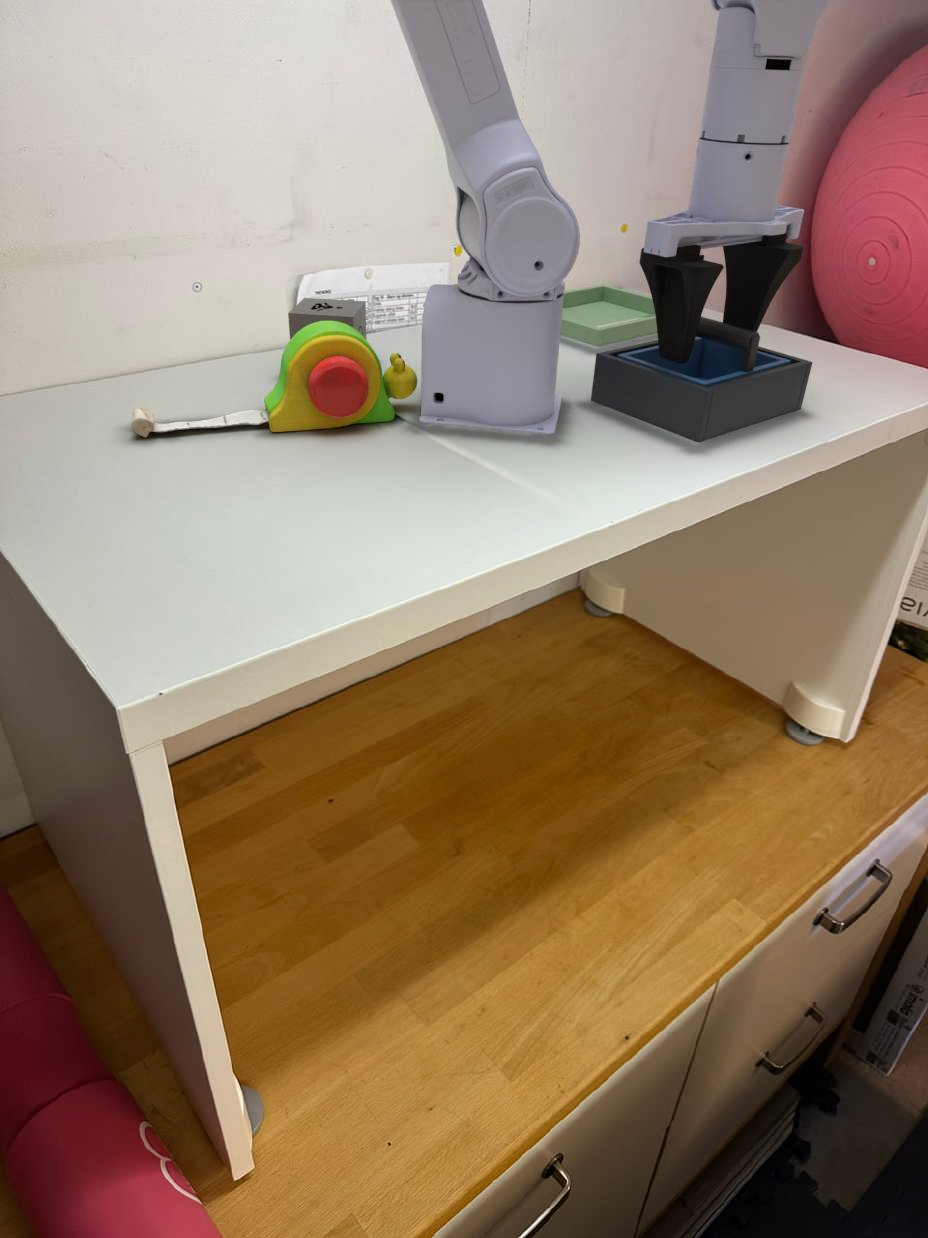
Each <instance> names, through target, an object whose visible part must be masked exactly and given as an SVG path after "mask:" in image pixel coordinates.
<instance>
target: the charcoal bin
mask: <svg viewBox="0 0 928 1238" xmlns="http://www.w3.org/2000/svg"><path fill="white" fill-rule="evenodd" d="M654 346H659V344H658V339H656V340H655V339H654V340H650V341H646V342H641V343H637V344H632V345H629V346H623V347H618V348H614V349H610V350H605V351H602V352H596V354H595V361H594V369H593V370H594V371H593V377H592V386H591V387H592V388H591V395H590V402H591V401H592V402H593V403H596V404H598V405H602V406H604V407H607V408H609V409H611V410H614V411H616V412H618V413H621V414H624V415H627V416H629V417H632V418H635V419H637V420H638V421H639V420H640V421H642V422H645V423H647V424H650V425H652V426H655V427H657V428H660V429H663V430H664V431H667V432H670V433H673V434H675V435H677V436H680V437H682V438H686V439H688V440H691V441H693V442H695V443H701V442H704V441H707V440H710V439H712V438H717V437H720V436H723V435H725V434H726V435H727V434H729V433H733V432H735V431H738V430H741V429H744V428H748V427H750V426H753V425H757V424H760V423H763V422H766V421H768V420H771V419H774V418H778V417H780V416H784V415H786V414H787V415H788V414H790V413H793V412H796V411H799V410H801V409H802V407H803V406H802V405H803V402H804V400H805V399H804V398H805V395H806V391H807V386H808V383H809V379H810V375H811V371H812V366H813V364H814V363H813V361H811V360H807V359H804V358H801V357H797V356H793V355H790V354H786V353H783V352H779V351H776V350H773V349H768V348H766V347H762V346H760V345H758V350H757V351H760V352H763V353H767V354H770V355H773V356H777V357H780V358H784V359H787V360H790V361H791V362H790V365H787V366H783V367H780V368H776V369H772V370H769V371H765V372H762V373H758V374H754V375H751V376H747V377H744V378H740V379H736V380H733V381H729V382H725V383H722V384H718V385H715V386H711V387H707V388H705V387H702V386H699V385H696V384H694V383H691V382H688V381H685V380H682V379H679V378H676V377H673V376H670V375H667V374H664V373H661V372H658V371H655V370H652V369H649V368H647V367H644V366H641V365H638V364H635V363H632V362H629V361H626V360H623V359H620V358H617V356H618V355H619V354H623V353H628V352H632V351H636V350H641V349H645V348H650V347H654Z"/></svg>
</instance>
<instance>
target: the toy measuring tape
mask: <svg viewBox="0 0 928 1238" xmlns="http://www.w3.org/2000/svg"><path fill="white" fill-rule="evenodd" d="M389 362H390V366H389V367H388V368H386V370H385V371H384V372H383V369H382V364H381V361H380V359H379V357H378V355H377V353H376V351H375V350H374V348H373V347H372V346H371V344H370V343H369V341H368V340H367V338H366V339H365V338H364V337H363V336H362V335H361V334H360V333H359V332H358V331H357V330H356V329H354V328H353V327H351V326H349V325H347V324H344V323H341V322H337V321H319V322H315V323H312V324H309V325H307V326H306V327H304V328H302V329H301V330H300V331H298V332H297V333H296V334H295V335H294V336H293V337H292V338H291V340H290V339H289V341H288V342H287V343H286V345H285V347H284V350H283V352H282V355H281V360H280V368H279V369H280V370H279V375H278V379H277V381H276V383H275V385H274V387H273V388H272V389H271V391H270V392H269V393H268V394H267V395H266V396H264V400H263V403H264V410H262V409H259V410H257V409H247V410H242V411H237V412H233V413H231V414H226V415H222V416H218V417H213V418H210V419H208V418H207V419H203V420H196V421H174V422H169V423H160V422H157V421H155V413H154V412H153V411H151V410H149V409H147V408H145V407H139V408H136V409H135V410H134V411H133V413H132V419H131V428H132V430H133V431H134V433H135V434H137V435H138V436H142V437H143V438H147V437H148V436H149V434H150V433H151V432H154V433H167V432H173V431H178V430H189V429H216V428H218V429H219V428H224V427H233V426H244V425H248V426H249V425H251V426H260V425H262V424H265V423H268V425H269V430H270V431H271V432H273V433H281V432H295V431H308V430H322V429H332V428H341V427H346V426H349V425H353V424H370V423H384V422H385V423H387V422H391V421H393V420H394V418H395V416H396V415H395V413H396V412H395V409H394V406H393V405H392V403H391V401H390V399H395V400H404V399H406V398H407V399H408V398H409V397H410V396H412V395H413V394H414V392H415V391H416V389H417V386H418V375H417V373H416V371H415V370H414V369H413V368H412V367H411V366H410V365H407V364H406V362H405V360H404V359H403V358H402V355H401V354H400V353H399V352H393V353H391V354H390V356H389Z"/></svg>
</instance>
